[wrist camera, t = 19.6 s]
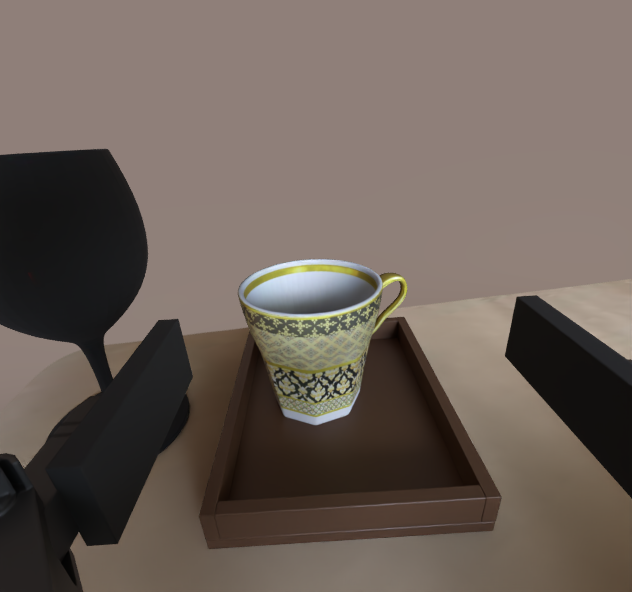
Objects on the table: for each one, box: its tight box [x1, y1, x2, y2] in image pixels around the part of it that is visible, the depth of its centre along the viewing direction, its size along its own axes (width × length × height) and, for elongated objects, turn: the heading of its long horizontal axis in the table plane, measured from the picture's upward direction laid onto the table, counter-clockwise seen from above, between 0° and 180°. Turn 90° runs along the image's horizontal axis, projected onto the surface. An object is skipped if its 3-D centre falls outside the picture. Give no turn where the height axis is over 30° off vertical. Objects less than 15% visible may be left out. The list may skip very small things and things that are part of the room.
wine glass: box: [0, 149, 190, 454], centre depth 24 cm, size 10×10×20 cm
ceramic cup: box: [238, 259, 407, 425], centre depth 27 cm, size 13×10×10 cm
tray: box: [199, 317, 502, 549], centre depth 28 cm, size 16×20×3 cm
